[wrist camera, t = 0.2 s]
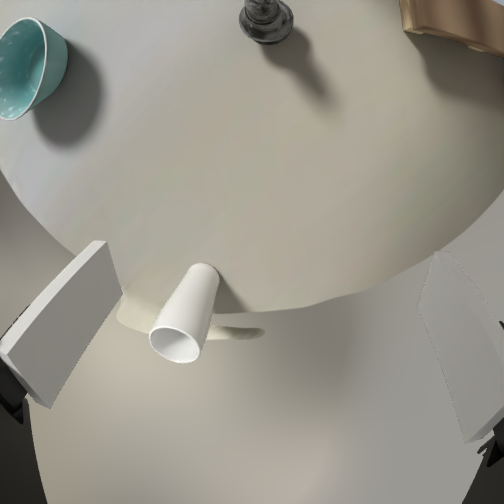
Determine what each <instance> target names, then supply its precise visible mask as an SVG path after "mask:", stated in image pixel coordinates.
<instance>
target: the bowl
mask: <svg viewBox="0 0 504 504" xmlns="http://www.w3.org/2000/svg"><path fill="white" fill-rule="evenodd" d="M67 60H68V51H67V45H66V43H65V40H64V39H63V37H62V36H61V35H59V34H58V33H57V32H55V31H54V30H53V29H51V28H50V27H49V26H47V25H46V24H44V23H42V22H41V21H39V20H37V19H35V18H32V17H25V18H22V19H19V20H18V21H16V22H14V23H13V24H12V25H11V26H10V27H9V28H8V29H7V30H6V31H5V32H4V34H3V35H2V36H1V38H0V118H2V119H4V120H7V121H12V120H16V119H18V118H20V117H21V116H23V115H24V114H25V113H27V112H28V111H29V110H31V109H32V108H33V107H35V106H36V105H37V104H39V103H40V102H41V101H43V100H44V99H45V98H47V97H48V96H49V95H51V94H52V93H53V92H54V91H55V89H56V88H57V87H58V85H59V84H60V82H61V80H62V78H63V76H64V73H65V70H66V66H67Z"/></svg>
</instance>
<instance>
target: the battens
mask: <svg viewBox="0 0 504 504" xmlns="http://www.w3.org/2000/svg"><path fill="white" fill-rule="evenodd" d="M399 3H400V9H401V16H402V24H403V31H406V32H411V33H416V34H422V33H424V32H420V31H415V30H413V26H412V18H411V11H410V4H409V0H399ZM467 48H470V49H473V50H476V51H479V52H482V51H483V50H481V49H478V48H475V47H472V46H469V45H467Z"/></svg>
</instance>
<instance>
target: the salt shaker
mask: <svg viewBox="0 0 504 504" xmlns="http://www.w3.org/2000/svg"><path fill="white" fill-rule="evenodd" d="M239 24H240V27H241V29H242V30H243V32H244V33H245V34H246V35H247V36H248V37H250V38H252V39H253V40H254V41H256V42H258V43H260V44H264V45H272V44H277V43H279V42H281V41H283V40H284V39H285V38H286V37H287V36H288V34H289V32H290V30H291V29H292V26H293V14H292V11H291V9H290V8H289V7H288V6H287V5H286V4H285V3H284V2H282V1H280V0H245V6H244V7H243V9H242V10H241V13H240V15H239Z"/></svg>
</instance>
